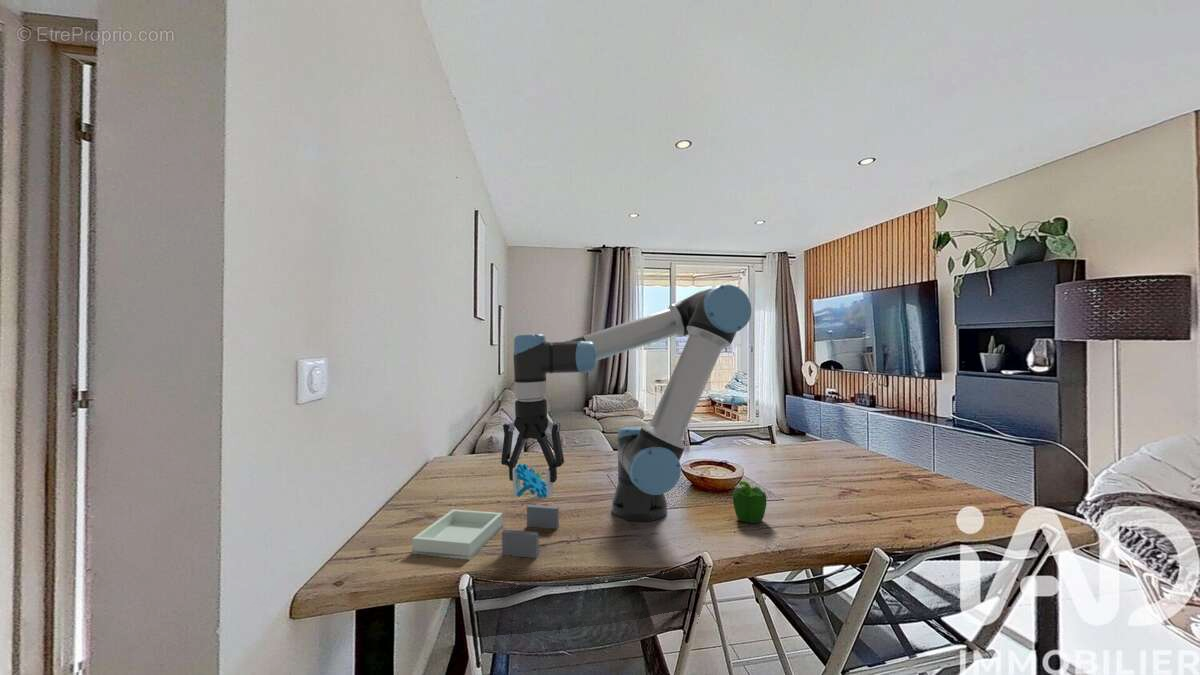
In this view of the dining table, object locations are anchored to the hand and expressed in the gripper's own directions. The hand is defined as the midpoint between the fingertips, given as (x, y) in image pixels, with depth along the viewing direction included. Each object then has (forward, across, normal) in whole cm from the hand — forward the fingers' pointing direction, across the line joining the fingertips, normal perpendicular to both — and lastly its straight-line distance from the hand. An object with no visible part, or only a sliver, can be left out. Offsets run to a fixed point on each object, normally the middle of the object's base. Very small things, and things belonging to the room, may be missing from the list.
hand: (533, 494), depth 104 cm
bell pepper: (+12, -52, -21) cm, 57 cm away
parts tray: (+10, +18, +3) cm, 21 cm away
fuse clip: (+11, 0, 0) cm, 11 cm away
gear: (+1, 0, 0) cm, 1 cm away
